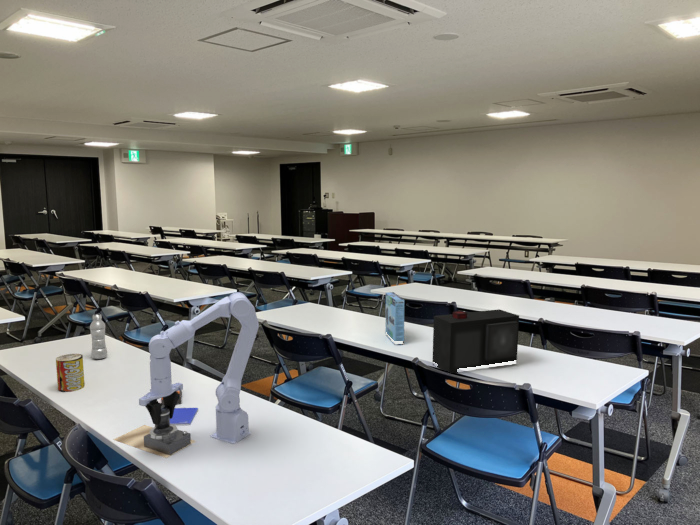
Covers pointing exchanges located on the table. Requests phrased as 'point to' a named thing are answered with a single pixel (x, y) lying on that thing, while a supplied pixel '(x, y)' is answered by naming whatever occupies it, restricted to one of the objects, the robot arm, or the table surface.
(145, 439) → the block with segmented ring
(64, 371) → the tin can
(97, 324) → the plastic bottle
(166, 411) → the lens
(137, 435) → the cork mat
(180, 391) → the electronic device
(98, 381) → the table surface
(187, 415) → the hard drive
